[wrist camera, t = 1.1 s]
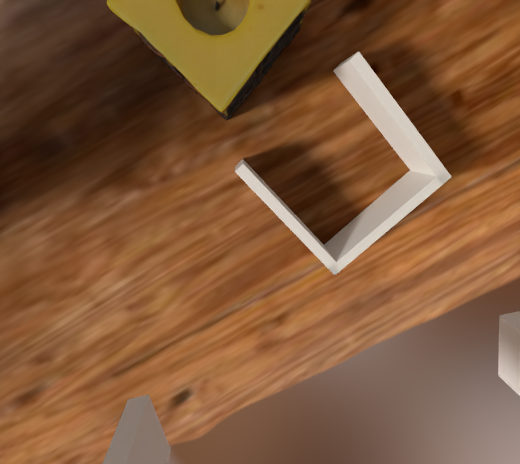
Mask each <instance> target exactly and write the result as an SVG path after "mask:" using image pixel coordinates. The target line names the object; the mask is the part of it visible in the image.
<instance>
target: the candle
mask: <svg viewBox="0 0 520 464" xmlns="http://www.w3.org/2000/svg"><path fill="white" fill-rule="evenodd" d="M311 1H312V0H107V5H108V6H109V8H110V9H111V10H112V12H114V13H115V14H116V15H117V16H119V17H120V18H121V19H122V20H123V21H124V22H125V23H126V24H127V25H128V26H130V27H133V29H134V31H135V32H136V35H137V36H138V37H139V38H140V39H141V40H142V41H143V43H145V45H147V46H148V47H149V48H150V49H151V51H152V52H154V53H155V54H156V55H157V56H158V57H160V58H161V60H163V61H164V63H165V64H166V65H167V66H168V67H169V68H170V69H171V70H172V71H174V73H175V74H177V75H178V76H179V77H180V78H181V79H182V80H183V81H184V82H185V83H186V84H187V85H189V86H190V88H191V89H194V90H195V92H196V94H199V95H200V96H202V97H203V98H204V99H205V100H206V101H207V102H209V103H210V105H211V106H212V107H213V108H214V109H215V110H216V111H217V112H218V113H219V114H220V115H221V116H222V117H223V118H224V119H226V120H228V119H231V116H232V114H233V113H234V112H235V111H236V110H237V109H238V108H239V107H240V106H241V105H242V104H243V102H244V101H245V100H246V99H247V98H248V96H249V95H250V93H251V92H252V91H253V89H254V88H255V87H256V86H257V85H258V84H259V83H260V81H261V79H262V78H263V76H264V75H266V74H267V72H268V70H269V69H270V68H271V67H272V64H273V62H274V61H275V60H276V59H277V57H278V56H279V54H280V53H281V52H282V50H283V49H284V48H285V47H286V46H288V45H289V44H290V43H291V40H292V39H293V38H294V37H295V35H296V34H297V32H298V31H299V30H300V28H301V25H302V22H303V18H304V15H305V13H306V11H307V8H308V7H309V5H310V3H311Z"/></svg>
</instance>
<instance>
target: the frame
mask: <svg viewBox="0 0 520 464" xmlns="http://www.w3.org/2000/svg"><path fill="white" fill-rule="evenodd" d="M333 72H334V73H335V74H336V75H337V77H338V78H339V79H340V81H341V82H342V83H343V84H344V86H345V87H346V88H347V90H348V91H349V92H350V93H351V95H352V96H353V97H354V99H355V100H356V101H357V102H358V104H359V105H360V106H361V108H362V109H363V110H364V111H365V113H366V114H367V115H368V117H369V118H370V119H371V120H372V122H373V123H374V124H375V126H376V127H377V128H378V129H379V131H380V132H381V133H382V135H383V136H384V137H385V138H386V140H387V141H388V142H389V144H390V145H391V146H392V147H393V149H394V150H395V151H396V153H397V154H398V155H399V156H400V158H401V159H402V160H403V162H404V163H405V164H406V165H407V167H408V168H409V169H410V171H409V172H407V173H406V174H405V175H404V176H403V177H402V178H401V179H399V180H398V181H397V182H396V183H395V184H394V185H392V186H391V187H390V188H389V189H388V190H387V191H386V192H384V193H383V194H382V195H381V196H380V197H379V198H377V199H376V200H375V201H374V202H373V203H372V204H371V205H369V206H368V207H367V208H366V209H365V210H364V211H363V212H361V213H360V214H359V215H358V216H357V217H356V218H354V219H353V220H352V221H351V222H350V223H349V224H348V225H346V226H345V227H344V228H343V229H342V230H341V231H339V232H338V233H337V234H336V235H335V236H334V237H333V238H331V239H330V240H329V241H328V242H327V243H326V244H323V243H322V242H321V241H320V240H319V239H318V238H317V237H316V236H315V235H314V234H313V233H312V232H311V231H310V230H309V229H308V227H307V226H306V225H305V224H304V223H303V222H302V221H301V220H300V219H299V218H298V217H297V216H296V215H295V214H294V213H293V212H292V210H291V209H290V208H289V207H288V206H287V205H286V204H285V203H284V202H283V201H282V200H281V199H280V198H279V197H278V196H277V195H276V193H275V192H274V191H273V190H272V189H271V188H270V187H269V186H268V185H267V184H266V183H265V182H264V181H263V180H262V179H261V178H260V176H259V175H258V174H257V173H256V172H255V171H254V170H253V169H252V168H251V167H250V166H249V165H248V164H247V163H246V162H245V161H244V159H242V160H241V161H240V162H239V163H238V164H237V165H236V168H235V172H236V173H237V174H238V175H239V176H240V177H241V178H242V179H243V180H244V182H245V183H246V184H247V185H248V186H249V187H250V188H251V189H252V190H253V191H254V192H255V193H256V194H257V195H258V196H259V197H260V198H261V199H262V200H263V201H264V202H265V203H266V204H267V205H268V206H269V208H270V209H271V210H272V211H273V212H274V213H275V214H276V215H277V216H278V217H279V218H280V219H281V220H282V221H283V222H284V223H285V224H286V225H287V226H288V227H289V228H290V229H291V230H292V231H293V232H294V234H295V235H296V236H297V237H298V238H299V239H300V240H301V241H302V242H303V243H304V244H305V245H306V246H307V247H308V248H309V249H310V250H311V251H312V252H313V253H314V254H315V255H316V256H317V257H318V258H319V260H320V261H321V262H322V263H323V264H324V265H325V266H326V267H327V268H328V269H329V270H330V271H331V272H332V273H333V274H334V275H336V274H337V273H338V272H339V271H341V270H342V269H343V268H344V267H345V266H347V265H348V264H349V263H350V262H351V261H353V260H354V259H355V258H356V257H357V256H358V255H360V254H361V253H362V252H363V251H364V250H366V249H367V248H368V247H369V246H370V245H372V244H373V243H374V242H375V241H376V240H377V239H379V238H380V237H381V236H382V235H383V234H385V233H386V232H387V231H388V230H389V229H391V228H392V227H393V226H394V225H395V224H396V223H398V222H399V221H400V220H401V219H402V218H404V217H405V216H406V215H407V214H408V213H410V212H411V211H412V210H413V209H414V208H415V207H417V206H418V205H419V204H420V203H421V202H423V201H424V200H425V199H426V198H427V197H429V196H430V195H431V194H432V193H433V192H435V191H436V190H437V189H438V188H439V187H440V186H442V185H443V184H444V183H445V182H446V181H448V180H449V179H450V178H451V175H450V174H449V173H448V171H447V170H446V169H445V167H444V166H443V164H442V163H441V162H440V160H439V159H438V158H437V156H436V155H435V154H434V152H433V151H432V150H431V148H430V147H429V146H428V144H427V143H426V141H425V140H424V139H423V137H422V136H421V135H420V133H419V132H418V131H417V129H416V128H415V127H414V125H413V124H412V123H411V121H410V120H409V119H408V117H407V116H406V114H405V113H404V112H403V110H402V109H401V108H400V106H399V105H398V104H397V102H396V101H395V100H394V98H393V97H392V96H391V94H390V93H389V91H388V90H387V89H386V87H385V86H384V85H383V83H382V82H381V81H380V79H379V78H378V77H377V75H376V74H375V73H374V71H373V70H372V68H371V67H370V66H369V64H368V63H367V62H366V60H365V59H364V58H363V56H362V55H361V54H360V52H359V51H358V52H357V53H355V54H354V55H352V56H351V57H349V58H348V59H346V60H345V61H343V62H342V63H340V64H339V65H338V66H337V67H336V68H335V69H334V70H333Z"/></svg>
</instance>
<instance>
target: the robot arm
mask: <svg viewBox="0 0 520 464" xmlns="http://www.w3.org/2000/svg"><path fill="white" fill-rule="evenodd" d="M498 375H499V377H500V378H502V379H503V380H504V381H505V382H506V383H507V384H508V385H509V386H510V387H511V388H512V389H513V390H514V391H515V392H516V393H517V394H518V395H520V311H518V312H514V313H510V314H505V315H500V319H499V372H498ZM170 450H171V449H170V446H169V444H168V441H167V439H166V436H165V434H164V431H163V429H162V426H161V424H160V421H159V419H158V417H157V414H156V412H155V409H154V407H153V404H152V402H151V399H150V397H149V395H145V396H141V397H136V398H132V399H128V401H127V404H126V406H125V409H124V411H123V414H122V416H121V419H120V421H119V424H118V426H117V429H116V431H115V434H114V436H113V439H112V441H111V444H110V446H109V449H108V452H107V454H106V457H105V459H104V462H103V464H168V461H169V456H170Z"/></svg>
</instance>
